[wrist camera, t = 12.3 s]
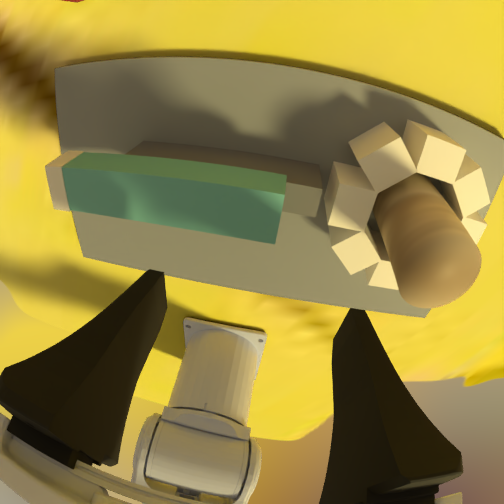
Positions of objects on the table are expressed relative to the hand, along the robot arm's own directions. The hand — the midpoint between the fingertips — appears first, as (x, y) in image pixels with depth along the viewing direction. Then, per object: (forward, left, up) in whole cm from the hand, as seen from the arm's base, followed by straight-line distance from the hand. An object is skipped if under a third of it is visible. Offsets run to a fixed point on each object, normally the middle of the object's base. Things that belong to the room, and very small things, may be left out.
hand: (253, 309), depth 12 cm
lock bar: (+2, +6, -5) cm, 8 cm away
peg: (+2, -8, -9) cm, 12 cm away
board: (0, 0, -10) cm, 10 cm away
